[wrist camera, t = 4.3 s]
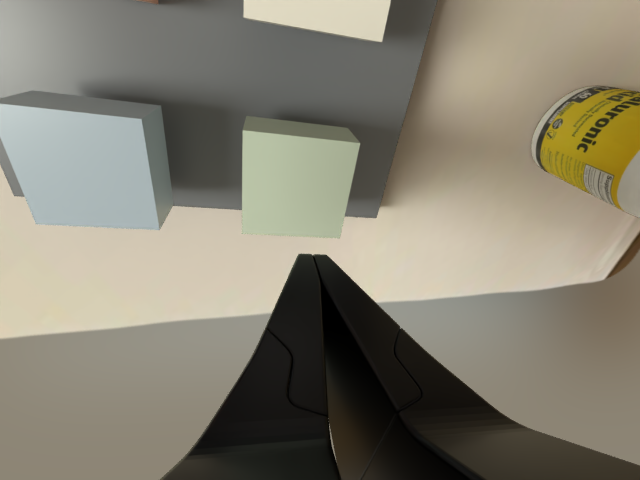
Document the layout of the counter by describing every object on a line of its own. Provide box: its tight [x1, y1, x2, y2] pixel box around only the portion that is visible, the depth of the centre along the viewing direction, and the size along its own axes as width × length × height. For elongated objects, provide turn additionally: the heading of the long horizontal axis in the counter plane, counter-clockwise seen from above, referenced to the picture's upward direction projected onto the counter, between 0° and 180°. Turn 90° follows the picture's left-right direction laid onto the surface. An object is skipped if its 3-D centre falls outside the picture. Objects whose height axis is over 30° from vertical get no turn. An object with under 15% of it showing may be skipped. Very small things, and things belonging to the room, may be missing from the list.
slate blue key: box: [0, 90, 174, 230], centre depth 13 cm, size 5×5×2 cm
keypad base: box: [0, 0, 437, 218], centre depth 15 cm, size 20×15×2 cm
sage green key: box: [242, 116, 360, 238], centre depth 15 cm, size 5×5×2 cm
